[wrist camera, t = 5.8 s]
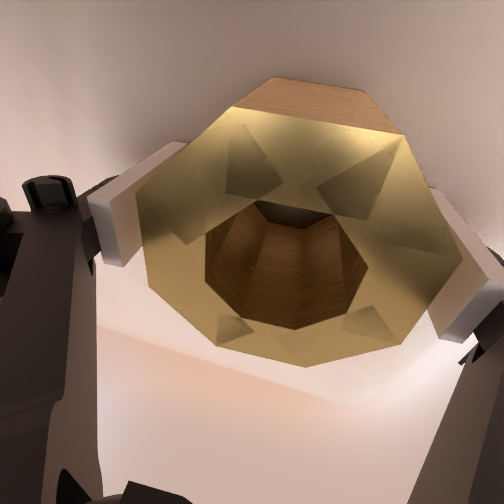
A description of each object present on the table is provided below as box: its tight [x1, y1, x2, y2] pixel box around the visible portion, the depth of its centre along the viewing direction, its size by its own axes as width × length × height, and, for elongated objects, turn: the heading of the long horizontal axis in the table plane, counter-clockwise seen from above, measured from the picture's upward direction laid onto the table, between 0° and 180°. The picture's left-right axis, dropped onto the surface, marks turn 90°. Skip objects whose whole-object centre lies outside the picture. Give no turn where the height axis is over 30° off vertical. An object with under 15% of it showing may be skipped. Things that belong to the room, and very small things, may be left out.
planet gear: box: [135, 77, 463, 368], centre depth 12 cm, size 9×9×7 cm
